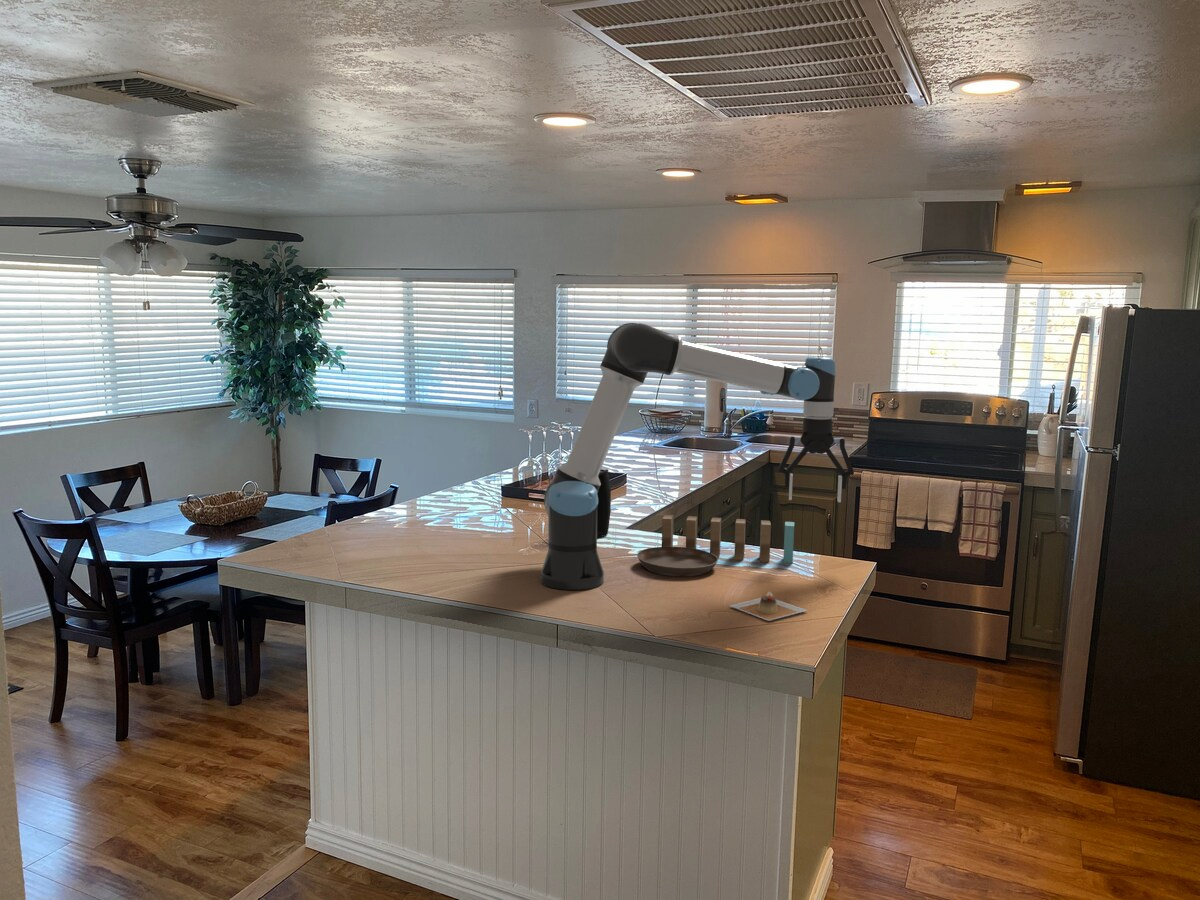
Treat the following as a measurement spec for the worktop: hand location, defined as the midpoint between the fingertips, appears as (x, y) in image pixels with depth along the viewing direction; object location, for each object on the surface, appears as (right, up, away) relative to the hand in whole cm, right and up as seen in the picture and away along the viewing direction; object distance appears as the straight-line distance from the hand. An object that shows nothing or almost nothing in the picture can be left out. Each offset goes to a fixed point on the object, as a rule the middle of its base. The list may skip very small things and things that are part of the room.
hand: (814, 500), depth 231 cm
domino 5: (-12, -16, +5) cm, 21 cm away
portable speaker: (-58, -12, +29) cm, 66 cm away
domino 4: (-19, -16, +6) cm, 25 cm away
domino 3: (-25, -15, +7) cm, 30 cm away
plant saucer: (-36, -17, -4) cm, 41 cm away
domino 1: (-38, -15, +10) cm, 42 cm away
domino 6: (-6, -16, +4) cm, 18 cm away
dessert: (-19, -23, -38) cm, 48 cm away
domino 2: (-31, -15, +9) cm, 36 cm away
